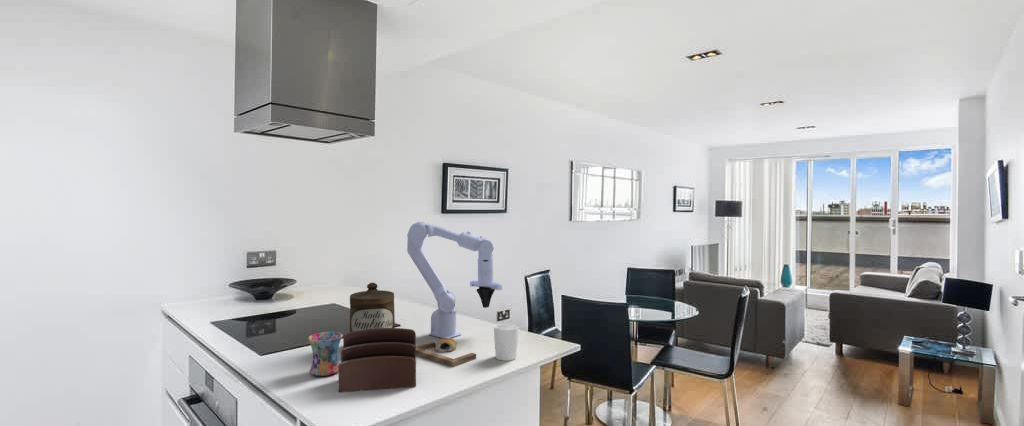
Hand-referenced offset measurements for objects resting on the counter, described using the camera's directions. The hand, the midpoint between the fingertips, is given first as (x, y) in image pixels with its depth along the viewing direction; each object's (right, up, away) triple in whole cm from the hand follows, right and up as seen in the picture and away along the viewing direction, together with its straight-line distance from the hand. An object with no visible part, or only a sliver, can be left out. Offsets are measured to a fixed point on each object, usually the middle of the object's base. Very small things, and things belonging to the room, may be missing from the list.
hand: (486, 307), depth 176 cm
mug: (-44, -11, -39) cm, 60 cm away
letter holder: (-27, -11, -48) cm, 56 cm away
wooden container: (-38, -11, -16) cm, 43 cm away
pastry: (-13, -11, -17) cm, 24 cm away
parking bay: (-13, -11, -25) cm, 30 cm away
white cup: (+8, -11, -26) cm, 29 cm away
